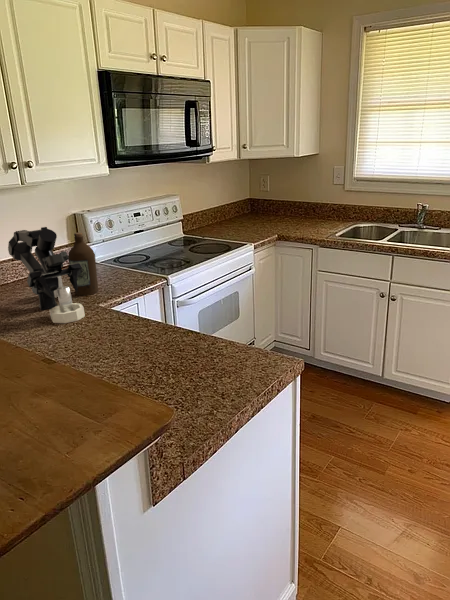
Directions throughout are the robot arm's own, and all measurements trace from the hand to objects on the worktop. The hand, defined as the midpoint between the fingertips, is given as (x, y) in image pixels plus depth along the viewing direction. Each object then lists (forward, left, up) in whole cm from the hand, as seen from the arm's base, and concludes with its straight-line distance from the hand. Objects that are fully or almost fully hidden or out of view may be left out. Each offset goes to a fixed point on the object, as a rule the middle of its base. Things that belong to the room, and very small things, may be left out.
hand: (64, 293), depth 168 cm
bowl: (-1, 0, -9) cm, 9 cm away
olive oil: (-29, +13, -9) cm, 33 cm away
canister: (-1, 0, -8) cm, 8 cm away
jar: (-33, 0, -9) cm, 34 cm away
